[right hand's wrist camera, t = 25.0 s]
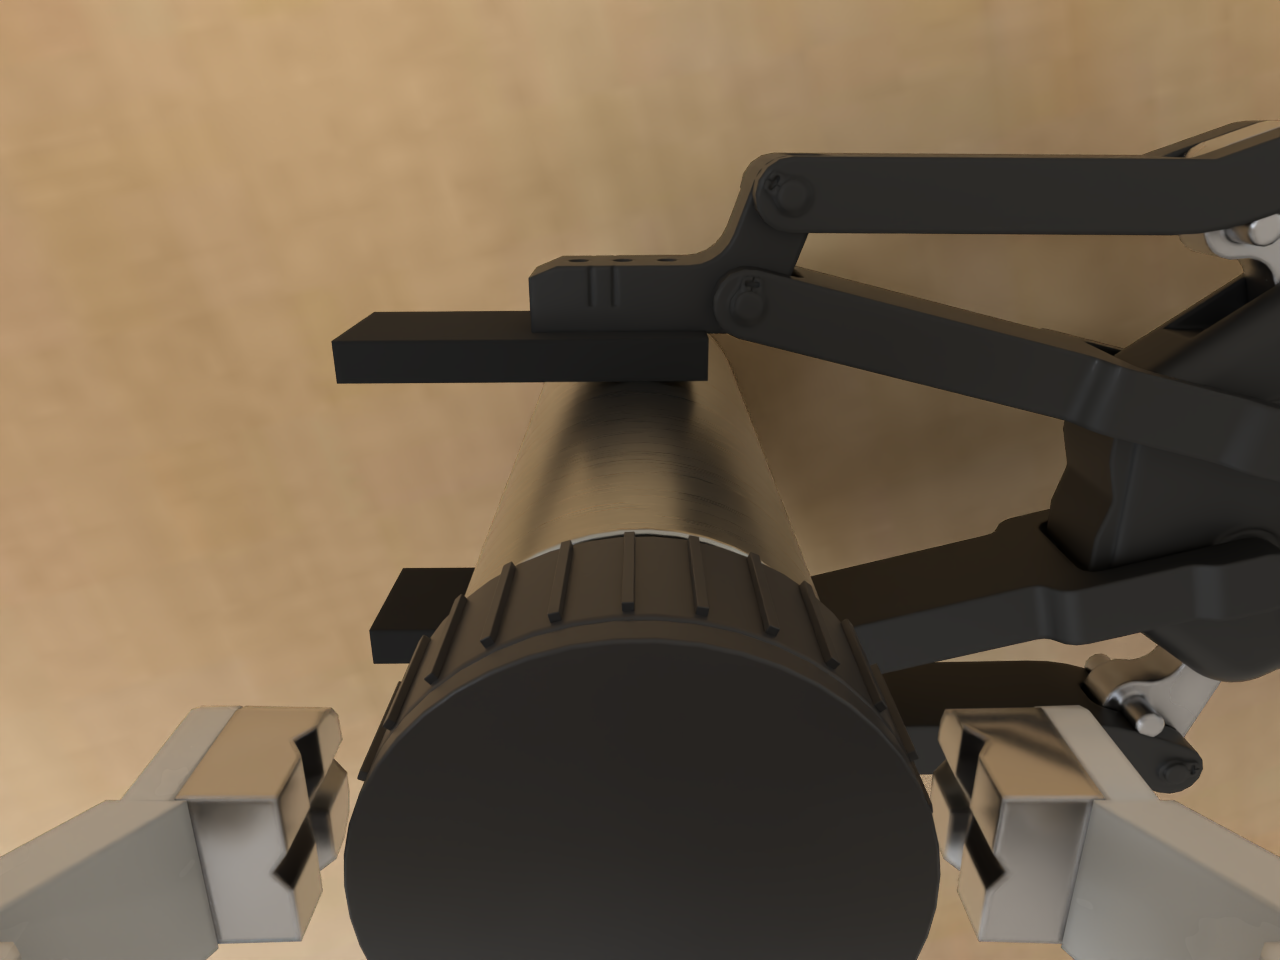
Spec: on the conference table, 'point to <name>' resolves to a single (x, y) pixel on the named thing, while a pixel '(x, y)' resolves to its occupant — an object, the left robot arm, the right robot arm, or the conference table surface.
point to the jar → (642, 473)
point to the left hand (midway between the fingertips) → (376, 487)
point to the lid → (641, 774)
